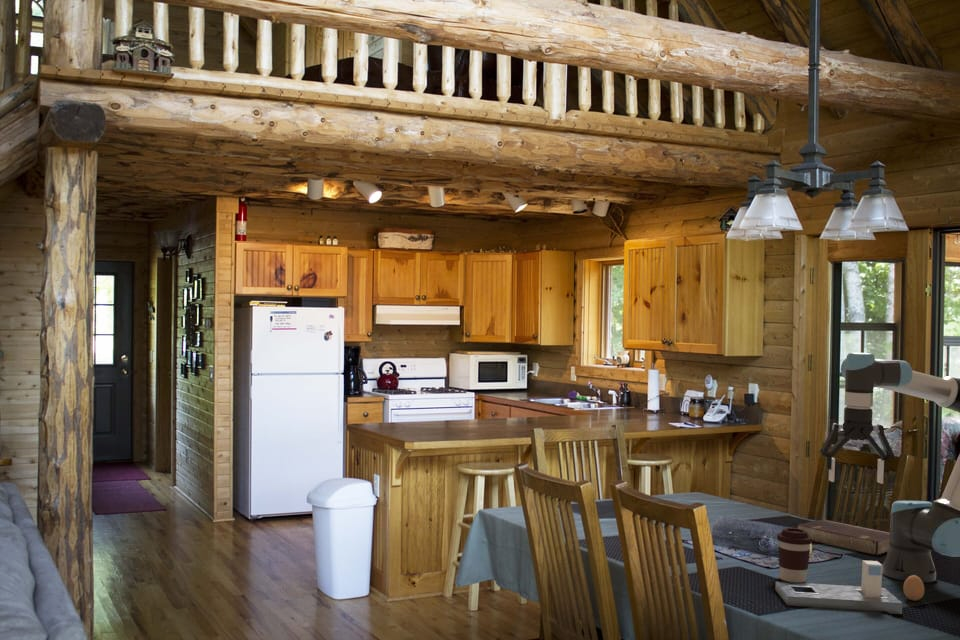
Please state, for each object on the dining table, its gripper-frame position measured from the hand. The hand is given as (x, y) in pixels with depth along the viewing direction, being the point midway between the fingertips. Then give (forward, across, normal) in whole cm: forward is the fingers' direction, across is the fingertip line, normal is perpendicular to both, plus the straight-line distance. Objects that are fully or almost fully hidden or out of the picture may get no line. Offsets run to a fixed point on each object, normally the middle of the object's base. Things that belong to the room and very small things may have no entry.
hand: (855, 482), depth 277 cm
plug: (+31, -2, +10) cm, 33 cm away
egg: (+32, -16, +4) cm, 36 cm away
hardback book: (+33, -20, -64) cm, 75 cm away
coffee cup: (+32, +14, -10) cm, 36 cm away
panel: (+32, +7, +10) cm, 34 cm away
